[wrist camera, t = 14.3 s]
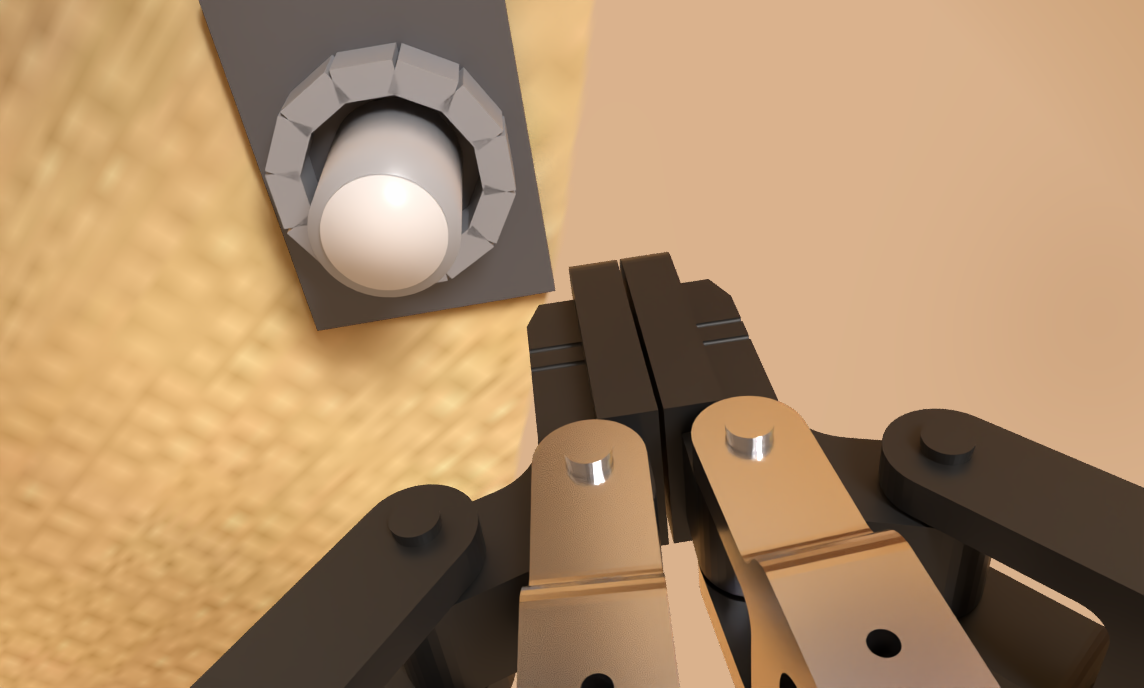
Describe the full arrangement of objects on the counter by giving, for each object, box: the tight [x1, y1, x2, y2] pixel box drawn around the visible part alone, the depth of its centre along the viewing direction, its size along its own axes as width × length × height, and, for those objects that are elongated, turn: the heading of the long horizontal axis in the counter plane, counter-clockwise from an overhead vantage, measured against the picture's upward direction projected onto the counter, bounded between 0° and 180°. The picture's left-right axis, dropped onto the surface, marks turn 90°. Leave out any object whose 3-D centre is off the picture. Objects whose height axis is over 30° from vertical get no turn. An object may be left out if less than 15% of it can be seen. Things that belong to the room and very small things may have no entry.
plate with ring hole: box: [199, 0, 555, 331], centre depth 40 cm, size 16×12×3 cm
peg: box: [307, 98, 463, 297], centre depth 37 cm, size 6×6×7 cm
